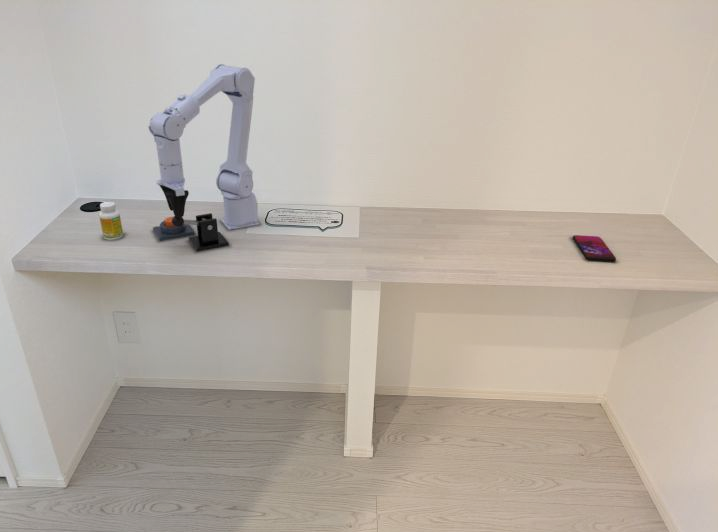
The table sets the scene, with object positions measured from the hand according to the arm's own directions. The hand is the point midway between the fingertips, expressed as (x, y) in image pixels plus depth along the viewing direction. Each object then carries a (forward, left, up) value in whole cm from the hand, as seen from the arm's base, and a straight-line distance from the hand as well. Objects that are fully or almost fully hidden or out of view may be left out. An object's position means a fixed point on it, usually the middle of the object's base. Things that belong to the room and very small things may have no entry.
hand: (176, 213), depth 152 cm
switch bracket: (-8, 0, -10) cm, 13 cm away
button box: (-1, -11, -10) cm, 15 cm away
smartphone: (-103, +49, -10) cm, 114 cm away
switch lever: (-3, 0, -5) cm, 6 cm away
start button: (-1, -11, -8) cm, 14 cm away
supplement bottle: (+15, -16, -11) cm, 25 cm away
